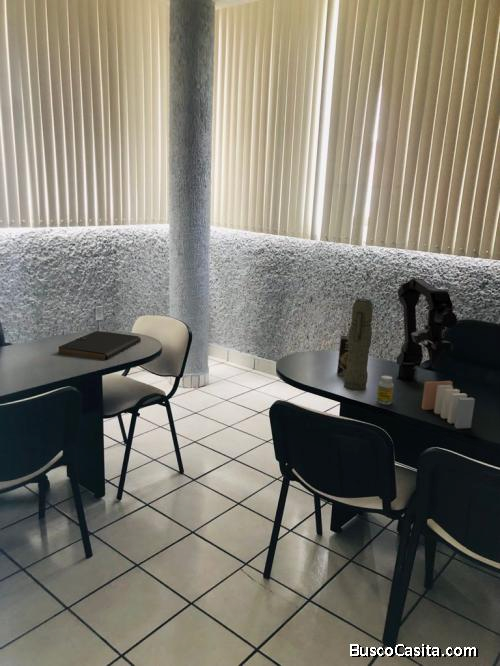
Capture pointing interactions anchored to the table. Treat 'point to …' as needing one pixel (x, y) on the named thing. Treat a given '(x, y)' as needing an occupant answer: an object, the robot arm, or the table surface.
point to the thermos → (359, 345)
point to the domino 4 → (454, 406)
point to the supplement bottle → (385, 390)
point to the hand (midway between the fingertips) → (432, 363)
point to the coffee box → (343, 356)
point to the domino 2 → (440, 397)
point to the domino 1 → (431, 393)
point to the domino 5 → (464, 413)
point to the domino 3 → (447, 401)
